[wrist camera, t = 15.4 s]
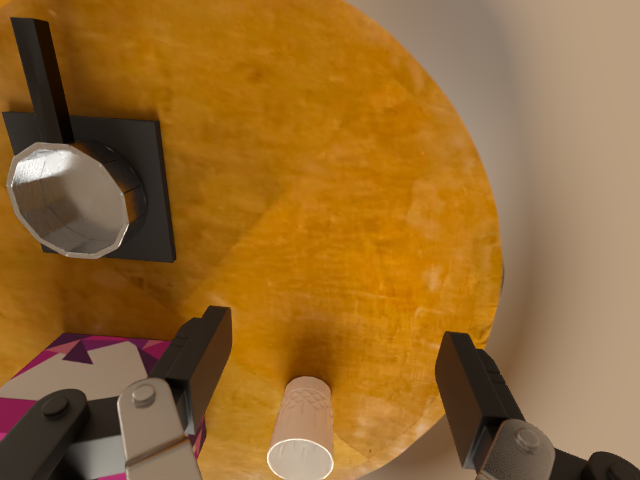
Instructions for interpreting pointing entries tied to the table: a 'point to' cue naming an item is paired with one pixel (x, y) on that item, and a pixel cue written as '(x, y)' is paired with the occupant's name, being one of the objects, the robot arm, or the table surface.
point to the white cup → (303, 432)
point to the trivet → (141, 151)
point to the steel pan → (69, 167)
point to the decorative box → (84, 376)
